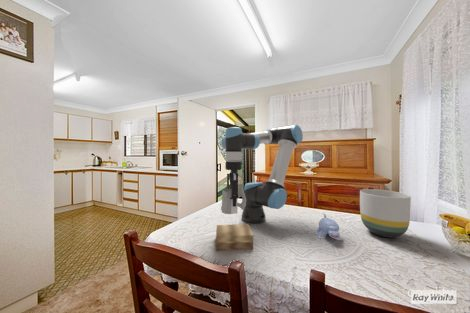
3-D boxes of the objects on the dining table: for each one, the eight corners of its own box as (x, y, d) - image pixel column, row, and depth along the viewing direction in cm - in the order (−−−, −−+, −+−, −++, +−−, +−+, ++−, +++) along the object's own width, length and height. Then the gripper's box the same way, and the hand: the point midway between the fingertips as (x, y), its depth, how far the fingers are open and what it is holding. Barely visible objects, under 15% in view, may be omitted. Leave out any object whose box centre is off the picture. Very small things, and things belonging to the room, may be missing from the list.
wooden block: (248, 235, 87) (248, 223, 87) (253, 248, 75) (253, 235, 75) (216, 237, 86) (216, 225, 86) (216, 250, 74) (216, 236, 74)
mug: (222, 208, 84) (222, 184, 84) (246, 209, 83) (246, 184, 83) (219, 214, 77) (219, 187, 77) (245, 215, 75) (245, 187, 75)
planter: (399, 230, 93) (400, 191, 93) (419, 248, 76) (419, 199, 75) (356, 224, 101) (356, 188, 101) (364, 239, 84) (365, 195, 83)
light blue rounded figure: (322, 244, 79) (322, 223, 79) (313, 230, 94) (313, 212, 94) (348, 246, 77) (348, 225, 77) (334, 231, 92) (334, 213, 92)
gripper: (224, 160, 90) (224, 204, 90) (226, 162, 69) (226, 218, 70) (239, 160, 90) (238, 203, 91) (244, 162, 70) (244, 218, 70)
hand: (233, 210), depth 80 cm, fingers closed on mug, 7 cm apart
